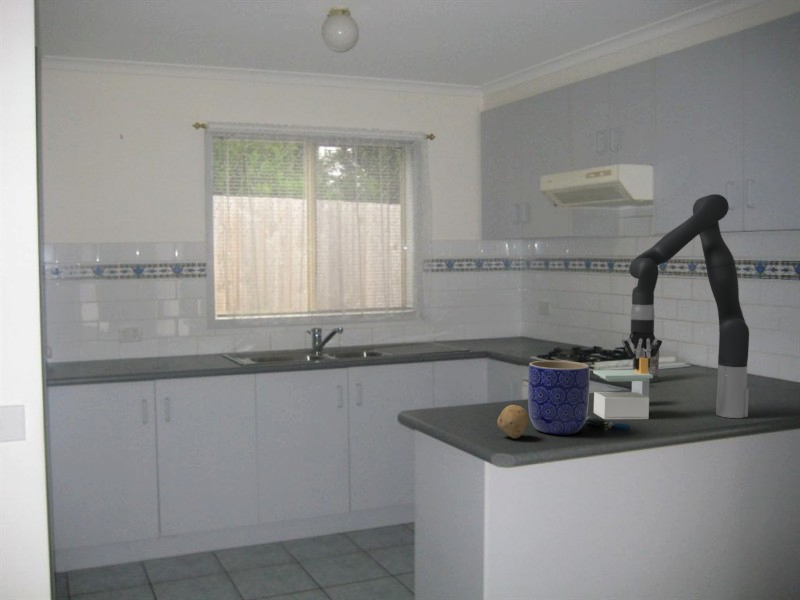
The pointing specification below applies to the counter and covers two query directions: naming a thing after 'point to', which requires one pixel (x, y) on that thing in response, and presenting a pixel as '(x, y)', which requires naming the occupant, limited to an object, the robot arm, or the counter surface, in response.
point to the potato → (513, 421)
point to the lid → (626, 373)
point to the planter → (558, 396)
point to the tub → (621, 405)
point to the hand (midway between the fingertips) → (641, 369)
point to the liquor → (651, 364)
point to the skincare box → (641, 387)
